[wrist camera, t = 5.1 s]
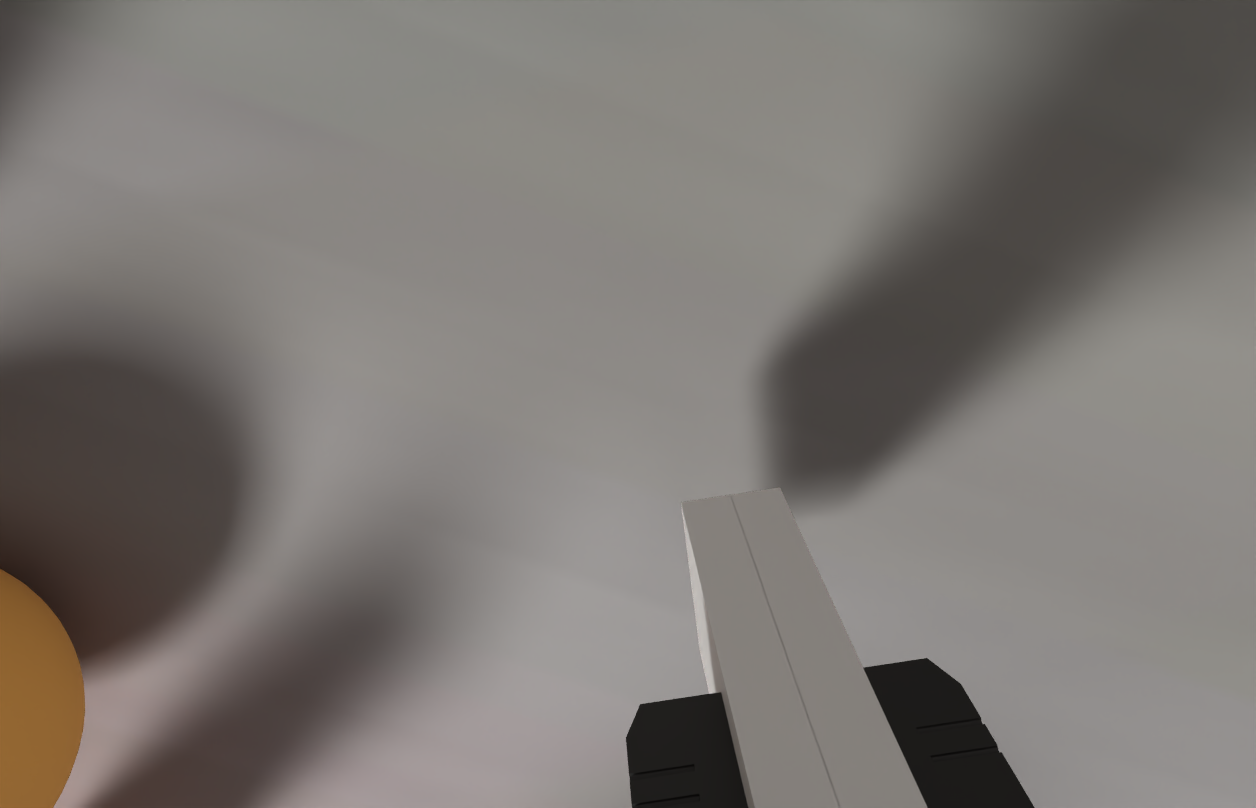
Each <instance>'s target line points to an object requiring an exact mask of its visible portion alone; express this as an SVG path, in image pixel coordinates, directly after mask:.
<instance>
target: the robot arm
mask: <svg viewBox="0 0 1256 808" xmlns="http://www.w3.org/2000/svg"><path fill="white" fill-rule="evenodd" d="M681 507H682V514H683V522H684V530H685V538H686V546H687V554H688V562H689V570H690V577H691V585H692V593H693V601H694V609H695V617H696V625H697V633H698V640H699V648H700V653H701V658H702V663H703V667H704V672H705V676H706V681H707V686H708V690H709V694H705V695H699V696H692V697H685V698H679V699H672V700H666V701H659V702H652V703H646V704H640V706H639V709H638V711H637V713H636V716H635V718H634V720H633V723H632V725H631V727H630V730H629V732H628V734H627V737H626V743H627V755H628V766H629V776H630V789H631V801H632V808H1034V806H1033V804H1032V803H1031V801H1030V799H1029V798H1028V796H1027V794H1026V793H1025V791H1024V789H1023V788H1022V786H1021V784H1020V782H1019V781H1018V779H1017V777H1016V776H1015V774H1014V772H1013V771H1012V769H1011V767H1010V766H1009V764H1008V762H1007V761H1006V759H1005V757H1004V756H1003V754H1002V753H999V751H998V747H997V744H996V742H995V741H994V739H993V737H992V736H991V734H990V732H989V730H988V729H987V727H986V725H985V724H982V722H981V717H980V715H979V714H978V712H977V710H976V709H975V707H974V705H973V704H972V702H971V700H970V699H969V697H968V695H967V694H966V692H965V690H964V689H963V687H962V685H961V684H960V683H959V682H957V681H956V680H955V679H954V678H952V677H951V676H950V675H948V674H947V673H946V672H944V671H943V670H942V669H940V668H939V667H938V666H937V665H935V664H934V663H933V662H931V661H930V660H929V659H927V658H924V659H918V660H911V661H905V662H898V663H892V664H885V665H878V666H872V667H865V668H863V667H862V664H861V662H860V660H859V658H858V656H857V654H856V651H855V649H854V647H853V645H852V643H851V641H850V638H849V636H848V634H847V632H846V630H845V627H844V625H843V623H842V621H841V619H840V617H839V614H838V612H837V610H836V608H835V606H834V604H833V601H832V599H831V597H830V595H829V593H828V591H827V588H826V586H825V584H824V582H823V580H822V578H821V575H820V573H819V571H818V569H817V567H816V565H815V562H814V560H813V558H812V556H811V554H810V552H809V549H808V547H807V545H806V543H805V541H804V539H803V536H802V534H801V532H800V530H799V528H798V525H797V523H796V521H795V519H794V517H793V515H792V512H791V510H790V508H789V506H788V504H787V502H786V499H785V497H784V495H783V493H782V491H781V489H780V487H779V488H772V489H765V490H759V491H752V492H745V493H739V494H732V495H725V496H719V497H712V498H705V499H699V500H692V501H685V502H681Z"/></svg>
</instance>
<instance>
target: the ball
mask: <svg viewBox="0 0 1256 808" xmlns="http://www.w3.org/2000/svg"><path fill="white" fill-rule="evenodd" d="M84 716H85V696H84V683H83V677H82V672H81V667H80V662H79V660H78V657H77V654H76V651H75V649H74V646H73V644H72V642H71V640H70V638H69V636H68V634H67V632H66V630H65V629H64V627H63V625H62V623H61V622H60V620H59V619H58V617H57V616H56V615H55V614H54V612H53V611H52V610H51V609H50V608H49V606H48V605H47V604H46V603H45V602H44V601H43V600H42V599H41V598H40V597H39V596H38V595H37V594H36V593H34V592H33V591H32V590H31V589H30V588H29V587H28V586H27V585H25V584H24V583H23V582H21V581H20V580H18V579H16V578H15V577H13V576H12V575H10V574H8V573H7V572H5V571H3V570H2V569H0V808H53V807H54V805H55V803H56V802H57V800H58V798H59V797H60V795H61V793H62V791H63V789H64V786H65V784H66V782H67V780H68V778H69V776H70V773H71V770H72V767H73V765H74V762H75V759H76V756H77V753H78V750H79V746H80V741H81V737H82V732H83V726H84Z"/></svg>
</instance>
